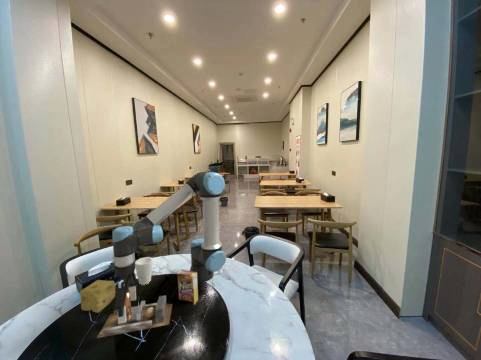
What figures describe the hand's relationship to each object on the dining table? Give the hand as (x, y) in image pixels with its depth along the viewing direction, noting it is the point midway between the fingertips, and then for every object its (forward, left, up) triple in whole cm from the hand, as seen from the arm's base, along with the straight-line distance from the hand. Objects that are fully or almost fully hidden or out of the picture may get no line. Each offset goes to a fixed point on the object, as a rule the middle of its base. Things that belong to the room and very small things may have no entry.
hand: (128, 310), depth 86 cm
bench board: (-4, 0, -6) cm, 7 cm away
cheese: (+19, -18, -6) cm, 27 cm away
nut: (-8, 0, -4) cm, 9 cm away
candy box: (-25, -9, -6) cm, 27 cm away
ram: (-2, 0, -4) cm, 5 cm away
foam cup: (+1, -33, -6) cm, 33 cm away
